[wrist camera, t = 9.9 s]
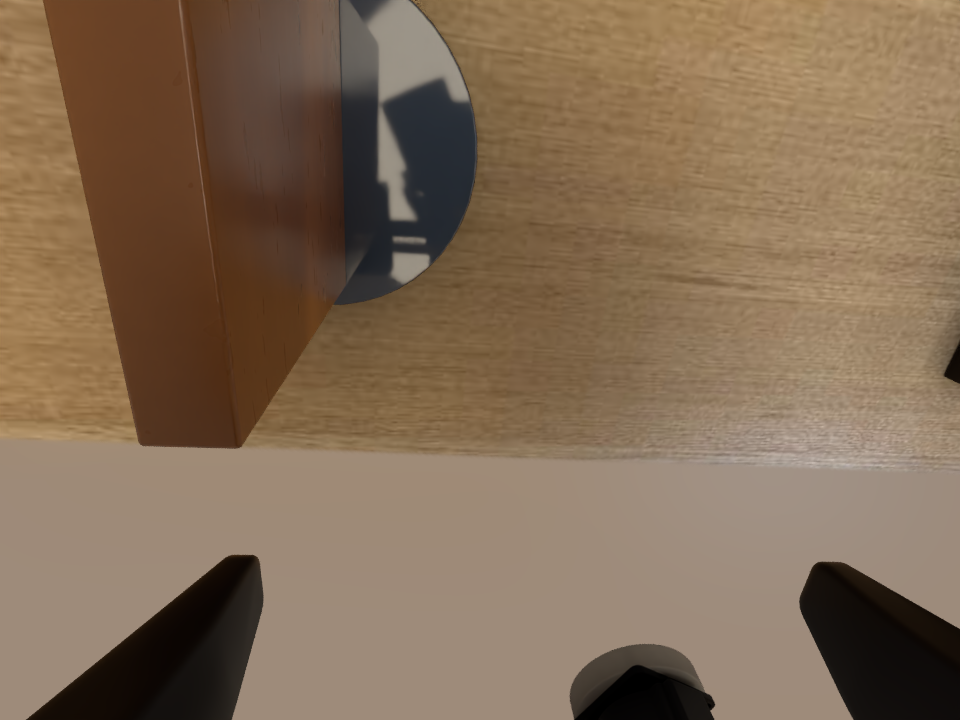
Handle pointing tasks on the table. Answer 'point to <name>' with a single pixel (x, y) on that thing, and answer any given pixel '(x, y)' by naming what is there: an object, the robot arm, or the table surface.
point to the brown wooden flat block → (208, 195)
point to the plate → (400, 145)
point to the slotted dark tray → (954, 368)
